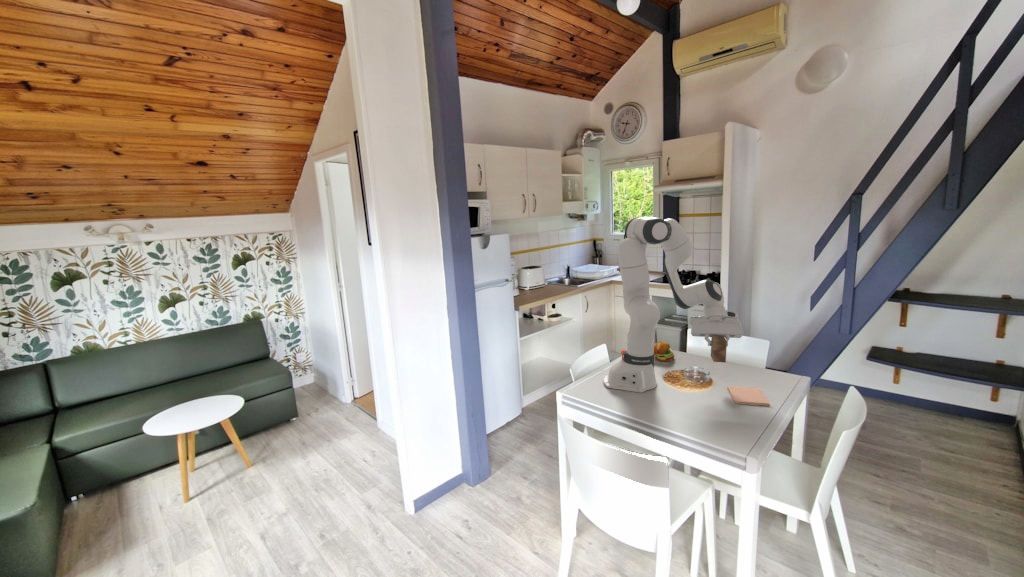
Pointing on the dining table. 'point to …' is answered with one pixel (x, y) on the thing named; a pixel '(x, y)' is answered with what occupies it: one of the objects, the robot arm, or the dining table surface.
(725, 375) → the dining table surface
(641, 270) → the robot arm
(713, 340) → the card box
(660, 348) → the cheeseburger
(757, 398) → the mat
